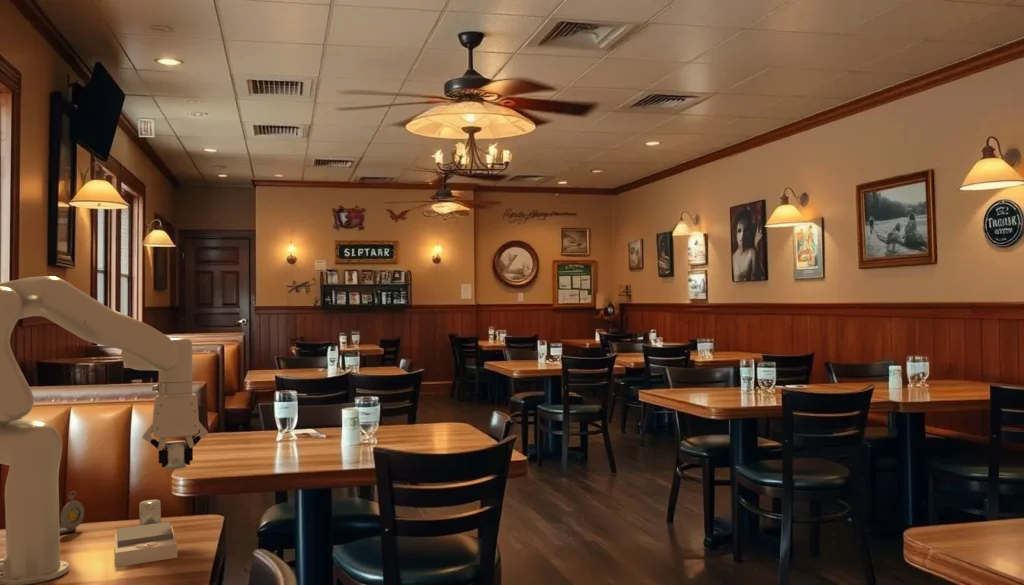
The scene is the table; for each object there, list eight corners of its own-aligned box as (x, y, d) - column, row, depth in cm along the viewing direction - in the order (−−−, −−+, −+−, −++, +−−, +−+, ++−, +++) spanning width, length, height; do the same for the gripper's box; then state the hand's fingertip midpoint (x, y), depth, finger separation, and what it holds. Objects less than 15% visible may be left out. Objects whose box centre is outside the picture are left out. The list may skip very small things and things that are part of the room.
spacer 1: (140, 530, 198) (139, 505, 198) (139, 525, 202) (138, 501, 202) (161, 527, 200) (161, 502, 200) (160, 522, 204) (159, 498, 204)
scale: (115, 567, 170) (115, 547, 170) (115, 547, 184) (114, 528, 184) (177, 557, 175) (176, 538, 175) (172, 538, 190) (171, 520, 190)
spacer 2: (165, 469, 191) (165, 444, 191) (164, 466, 196) (164, 441, 196) (187, 467, 193) (187, 442, 194) (185, 464, 198) (185, 440, 198)
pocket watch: (49, 529, 201) (48, 489, 201) (86, 525, 203) (85, 485, 203) (40, 538, 193) (39, 496, 193) (80, 534, 195) (79, 493, 195)
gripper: (137, 392, 188) (137, 471, 187) (214, 388, 195) (215, 464, 195) (136, 390, 195) (136, 466, 194) (211, 386, 202) (211, 459, 202)
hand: (175, 464), depth 195 cm, fingers closed on spacer 2, 4 cm apart
